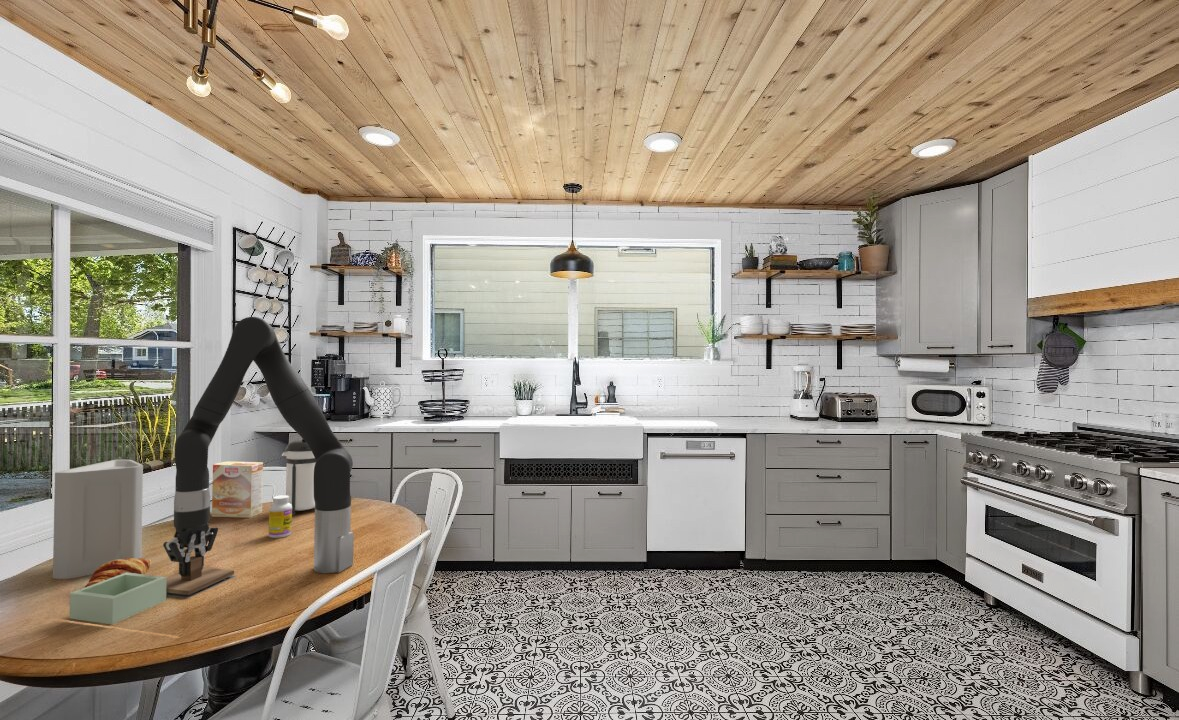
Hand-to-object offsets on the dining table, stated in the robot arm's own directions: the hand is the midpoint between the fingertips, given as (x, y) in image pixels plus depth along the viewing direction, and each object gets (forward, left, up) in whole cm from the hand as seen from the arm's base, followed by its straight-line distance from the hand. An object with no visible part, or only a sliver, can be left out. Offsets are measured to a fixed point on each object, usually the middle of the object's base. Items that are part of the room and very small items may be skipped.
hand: (191, 572), depth 137 cm
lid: (0, 0, -2) cm, 2 cm away
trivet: (0, 0, -3) cm, 3 cm away
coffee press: (+21, -67, -4) cm, 70 cm away
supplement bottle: (+8, -39, -4) cm, 40 cm away
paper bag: (+34, -6, -4) cm, 35 cm away
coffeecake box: (+41, -55, -4) cm, 69 cm away
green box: (+3, +15, -3) cm, 16 cm away
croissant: (+19, +3, -4) cm, 19 cm away
